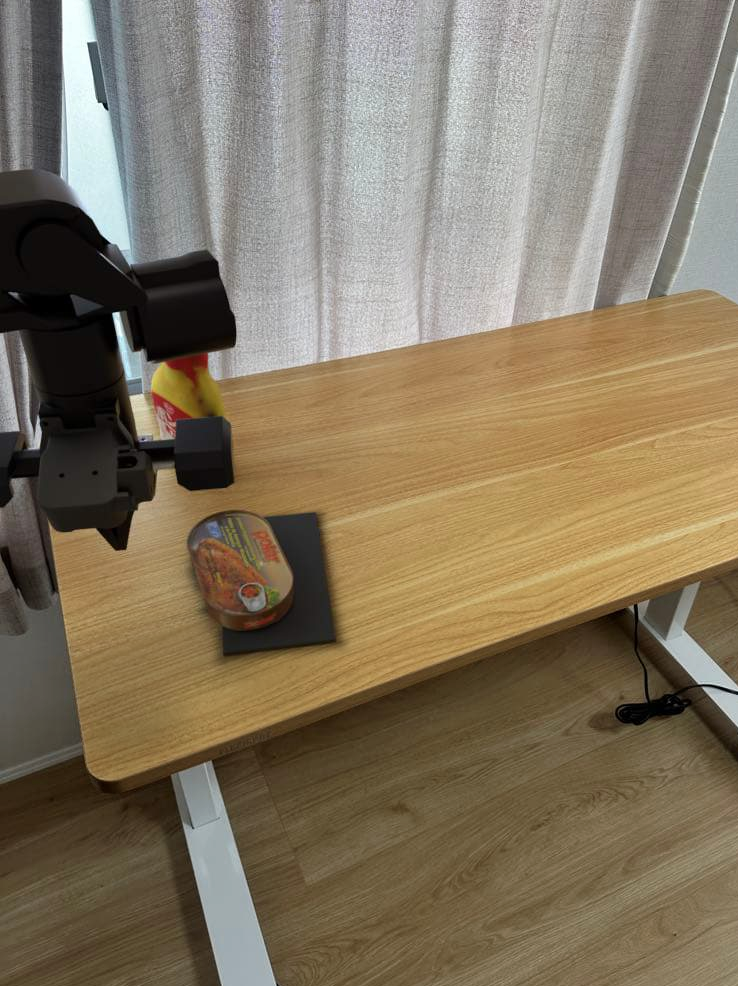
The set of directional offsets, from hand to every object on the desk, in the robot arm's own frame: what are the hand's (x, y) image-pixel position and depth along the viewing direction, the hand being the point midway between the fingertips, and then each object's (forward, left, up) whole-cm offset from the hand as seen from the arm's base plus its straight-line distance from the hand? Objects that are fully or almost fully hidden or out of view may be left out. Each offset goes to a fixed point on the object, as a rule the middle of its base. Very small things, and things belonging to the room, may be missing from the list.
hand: (121, 547), depth 63 cm
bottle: (+4, +29, -13) cm, 32 cm away
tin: (+4, +7, -12) cm, 14 cm away
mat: (+11, +8, -13) cm, 19 cm away
